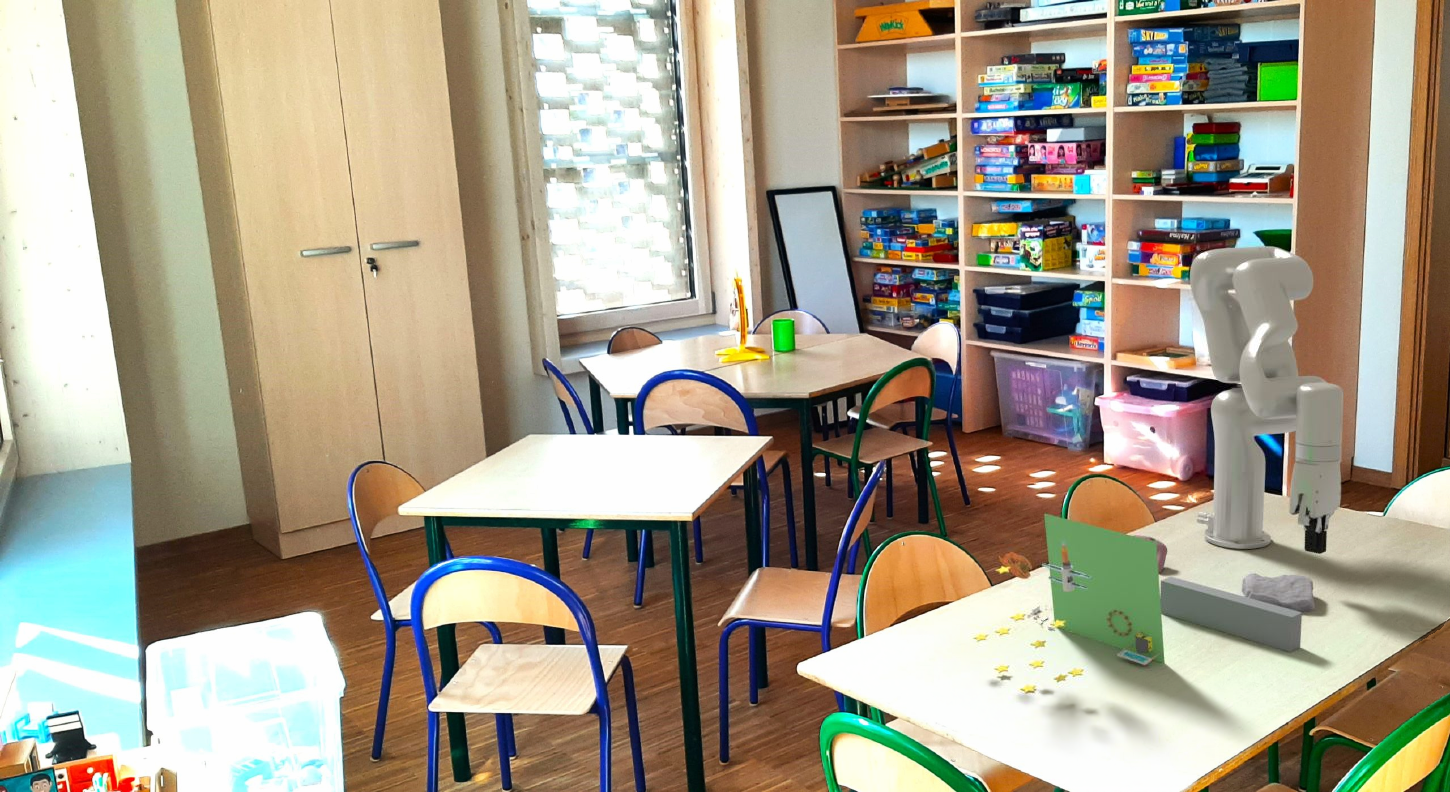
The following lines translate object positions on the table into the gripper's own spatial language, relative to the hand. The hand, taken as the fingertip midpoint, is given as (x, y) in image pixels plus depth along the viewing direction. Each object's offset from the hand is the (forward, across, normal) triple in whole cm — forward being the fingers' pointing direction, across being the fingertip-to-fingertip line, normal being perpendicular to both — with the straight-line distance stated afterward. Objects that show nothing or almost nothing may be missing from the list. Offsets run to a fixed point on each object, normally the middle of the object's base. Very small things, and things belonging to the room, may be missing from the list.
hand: (1315, 551), depth 228 cm
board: (+8, +27, -1) cm, 28 cm away
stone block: (+8, +9, -2) cm, 12 cm away
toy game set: (+9, +58, -11) cm, 60 cm away
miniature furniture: (+8, +36, -26) cm, 46 cm away
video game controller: (+7, +10, -30) cm, 32 cm away
